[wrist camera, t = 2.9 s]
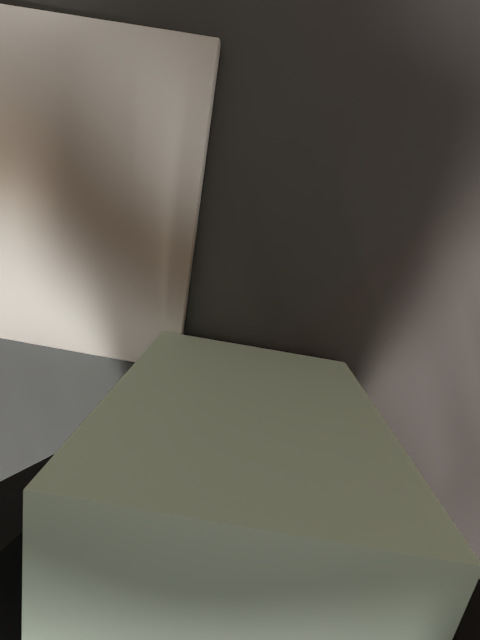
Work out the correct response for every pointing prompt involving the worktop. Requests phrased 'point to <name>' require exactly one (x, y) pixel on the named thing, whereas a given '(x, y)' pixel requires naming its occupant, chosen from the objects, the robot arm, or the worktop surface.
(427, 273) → the worktop surface
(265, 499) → the block
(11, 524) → the robot arm
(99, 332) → the roller bed
